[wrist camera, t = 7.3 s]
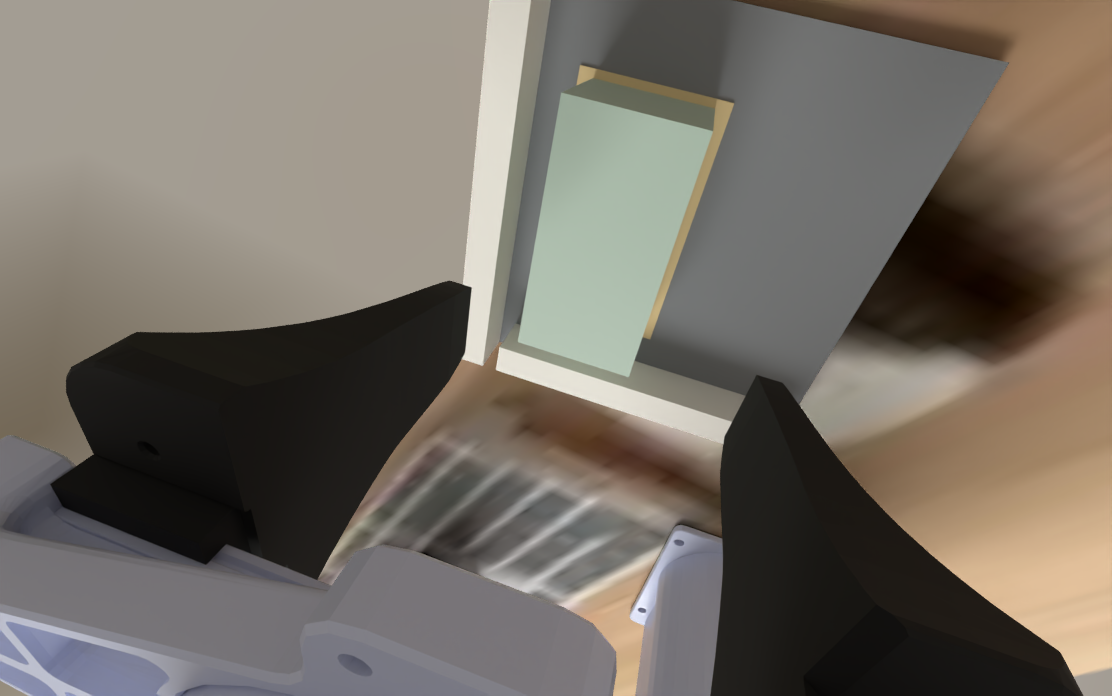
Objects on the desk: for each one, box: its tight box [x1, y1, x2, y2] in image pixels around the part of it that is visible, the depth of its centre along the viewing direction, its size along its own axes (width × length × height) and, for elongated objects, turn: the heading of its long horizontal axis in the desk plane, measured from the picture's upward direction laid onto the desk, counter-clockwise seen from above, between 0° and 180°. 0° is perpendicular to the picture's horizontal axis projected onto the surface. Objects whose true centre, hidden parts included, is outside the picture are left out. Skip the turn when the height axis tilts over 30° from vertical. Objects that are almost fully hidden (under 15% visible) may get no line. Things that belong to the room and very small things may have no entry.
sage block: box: [518, 78, 715, 377], centre depth 17 cm, size 4×8×4 cm, turn 169°
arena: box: [462, 0, 1009, 444], centre depth 18 cm, size 14×14×2 cm
